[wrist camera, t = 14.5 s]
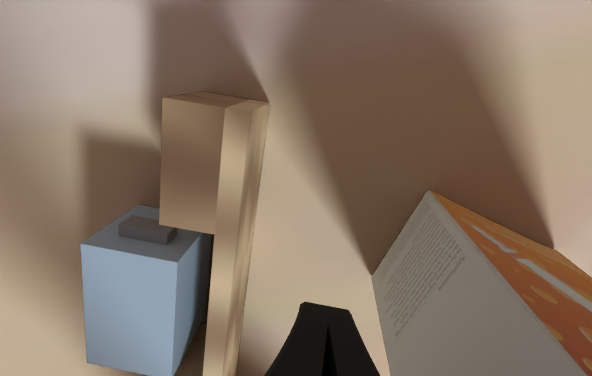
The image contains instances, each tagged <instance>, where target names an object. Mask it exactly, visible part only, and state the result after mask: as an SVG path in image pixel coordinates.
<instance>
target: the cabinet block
mask: <svg viewBox="0 0 592 376" xmlns="http://www.w3.org/2000/svg"><path fill="white" fill-rule="evenodd" d="M159 213H160V208H155V207H149V206H144V205H139V204H138V205H136V206H135V207H133V208H132V209H130V210H129V211H127V212H126V213H125V214H123V215H122V216H120V217H119V218H117V219H116V220H114V221H113V222H111V223H110V224H108V225H107V226H106V227H104V228H103V229H101V230H100V231H98V232H97V233H95V234H94V235H92V236H91V237H89V238H88V239H87V240H85V241H84V242H82V243H81V244H80V245H81V264H82V282H83V301H84V320H85V338H86V357H87V363H90V364H95V365H100V366H104V367H109V368H114V369H119V370H124V371H128V372H133V373H138V374H143V375H148V376H174V374H175V372H176V370H177V368H178V367H179V365H180V363H181V361H182V359H183V357H184V355H185V353H186V351H187V349H188V347H189V345H190V343H191V341H192V340H193V338H194V336H195V334H196V332H197V330H198V328H199V326H200V324H201V322H202V320H203V318H204V315H205V304H206V293H207V282H208V270H209V259H210V248H211V236H212V234H208V233H203V232H197V231H192V230H186V229H181V228H176V227H170V226H165V225H159Z"/></svg>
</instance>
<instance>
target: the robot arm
mask: <svg viewBox="0 0 592 376" xmlns="http://www.w3.org/2000/svg"><path fill="white" fill-rule="evenodd" d="M265 376H380V374H379V372H378V370H377V369H376V367H375V365H374V363H373V361H372V359H371V357H370V355H369V353H368V351H367V349H366V347H365V345H364V343H363V340H362V338H361V336H360V334H359V332H358V329H357V327H356V325H355V322H354V320H353V318H352V315H351V313H350V312H349V310H346V309H340V308H335V307H330V306H325V305H319V304H314V303H309V302H304V303H302V304H300V308H299V312H298V316H297V318H296V321H295V323H294V325H293V328H292V330H291V332H290V334H289V336H288V338H287V339H286V341H285V343H284V345H283V347H282V349H281V350H280V352H279V354H278V356H277V357H276V359H275V360H274V362H273V363H272V365H271V366H270V368H269V369H268V371H267V373H266V374H265Z"/></svg>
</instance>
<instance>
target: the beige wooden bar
mask: <svg viewBox="0 0 592 376" xmlns="http://www.w3.org/2000/svg"><path fill="white" fill-rule="evenodd" d="M269 106H270V103H269V102H263V101H257V100H251V99H245V98H239V97H233V96H227V95H221V94H215V93H209V92H196V93H189V94H182V95H175V96H168V97H162V132H161V172H160V213H159V225H165V226H170V227H176V228H181V229H186V230H192V231H197V232H203V233H208V234H214V246H213V258H212V270H211V282H210V294H209V306H208V318H207V324H205V323H201V324H200V326H199V328H198V330H197V332H196V334H195V336H194V338H193V340H192V341H191V343H190V345H189V347H188V349H187V351H186V353H185V355H184V357H183V359H182V361H181V363H180V365H179V367H178V368H177V370H176V372H175V374H174V376H236V369H237V361H238V353H239V345H240V337H241V329H242V321H243V313H244V305H245V297H246V289H247V281H248V273H249V265H250V257H251V249H252V241H253V233H254V225H255V217H256V209H257V201H258V193H259V185H260V177H261V169H262V162H263V154H264V146H265V138H266V130H267V122H268V114H269Z"/></svg>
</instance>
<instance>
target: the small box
mask: <svg viewBox="0 0 592 376" xmlns="http://www.w3.org/2000/svg"><path fill="white" fill-rule="evenodd" d="M372 284H373V289H374V294H375V299H376V304H377V309H378V314H379V320H380V325H381V330H382V335H383V340H384V345H385V350H386V355H387V359H388V364H389V369H390V374H391V376H592V278H591V277H590V276H589V275H588V274H586V273H585V272H584V271H582V270H581V269H580V268H579V267H577V266H576V265H575V264H573V263H572V262H571V261H570V260H568V259H567V258H566V257H564V256H563V255H562V254H561V253H559V252H558V251H556V250H554V249H551V248H549V247H547V246H544V245H542V244H540V243H538V242H535V241H533V240H531V239H529V238H526V237H524V236H522V235H520V234H518V233H516V232H514V231H512V230H510V229H508V228H506V227H504V226H502V225H499V224H497V223H495V222H493V221H491V220H489V219H487V218H485V217H483V216H481V215H479V214H477V213H475V212H473V211H471V210H469V209H467V208H465V207H463V206H461V205H459V204H457V203H455V202H453V201H451V200H449V199H447V198H445V197H443V196H441V195H439V194H437V193H435V192H433V191H431V190H428V191H427V192H426V193H425V195H424V196H423V198H422V199H421V201H420V203H419V204H418V206H417V207H416V209H415V210H414V212H413V213H412V215H411V216H410V218H409V220H408V221H407V223H406V224H405V226H404V227H403V229H402V231H401V232H400V234H399V235H398V237H397V238H396V240H395V241H394V243H393V244H392V246H391V247H390V249H389V250H388V252H387V254H386V255H385V257H384V258H383V260H382V261H381V263H380V265H379V266H378V268H377V269H376V271H375V272H374V274H373V275H372Z"/></svg>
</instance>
